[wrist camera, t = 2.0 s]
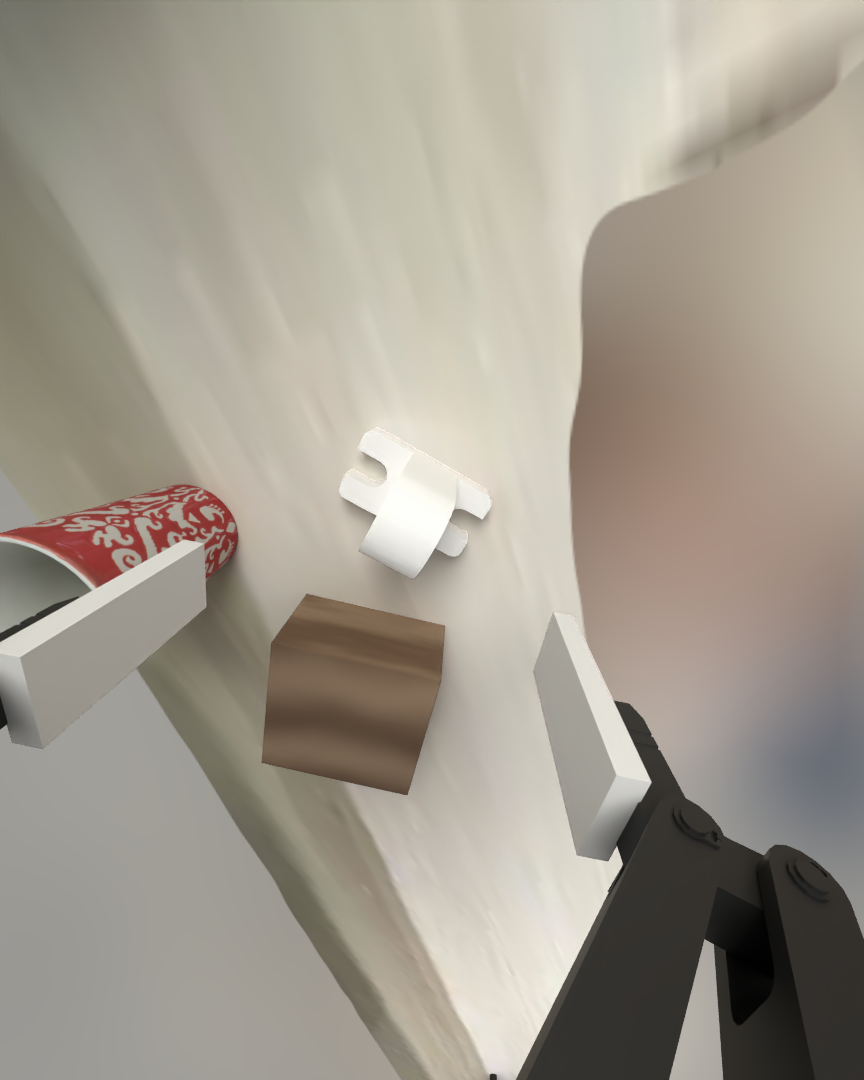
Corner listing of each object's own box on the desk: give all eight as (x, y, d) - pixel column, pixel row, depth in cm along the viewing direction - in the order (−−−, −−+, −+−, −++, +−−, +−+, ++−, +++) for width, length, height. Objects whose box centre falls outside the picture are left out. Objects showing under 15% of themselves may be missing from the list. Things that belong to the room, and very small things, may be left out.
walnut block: (307, 592, 34) (271, 642, 28) (445, 624, 34) (440, 681, 28) (295, 698, 39) (261, 762, 32) (416, 725, 39) (407, 795, 33)
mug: (233, 466, 30) (71, 528, 18) (263, 574, 34) (144, 690, 21) (81, 479, 32) (-169, 546, 19) (124, 582, 35) (-64, 696, 22)
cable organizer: (456, 549, 32) (454, 620, 22) (343, 486, 30) (290, 535, 21) (493, 492, 30) (507, 545, 20) (373, 423, 28) (330, 446, 19)
